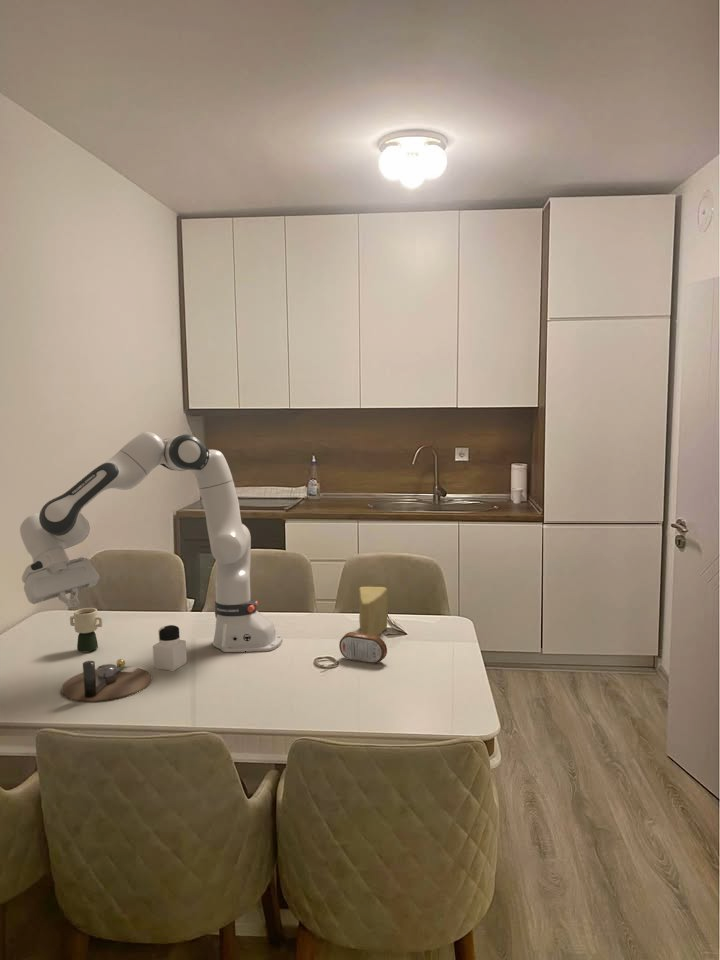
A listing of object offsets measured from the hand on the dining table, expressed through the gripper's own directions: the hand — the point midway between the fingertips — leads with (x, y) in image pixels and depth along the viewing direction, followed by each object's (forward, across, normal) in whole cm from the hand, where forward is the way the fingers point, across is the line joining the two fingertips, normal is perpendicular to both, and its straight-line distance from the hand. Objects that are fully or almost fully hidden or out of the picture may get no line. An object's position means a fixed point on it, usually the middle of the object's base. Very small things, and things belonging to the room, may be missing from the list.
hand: (74, 605), depth 209 cm
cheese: (+47, -80, +8) cm, 93 cm away
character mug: (+2, -14, -34) cm, 37 cm away
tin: (+54, -62, +19) cm, 85 cm away
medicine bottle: (+24, -23, -10) cm, 35 cm away
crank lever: (+21, -2, -9) cm, 23 cm away
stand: (+22, -3, -10) cm, 24 cm away
